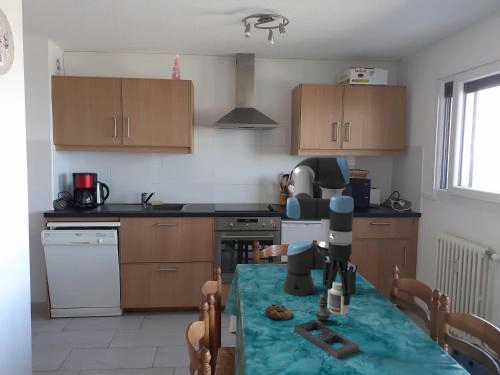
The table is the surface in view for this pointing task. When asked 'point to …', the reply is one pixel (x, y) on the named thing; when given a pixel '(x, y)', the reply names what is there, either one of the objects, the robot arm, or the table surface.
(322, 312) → the grey chess piece
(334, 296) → the pill bottle
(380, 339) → the table surface
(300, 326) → the grey rectangular frame
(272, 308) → the bread roll
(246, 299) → the table surface
